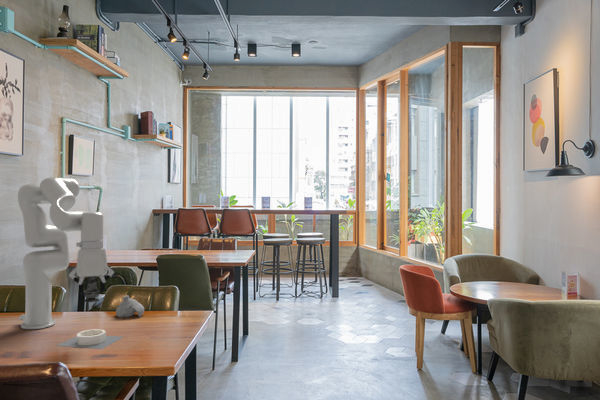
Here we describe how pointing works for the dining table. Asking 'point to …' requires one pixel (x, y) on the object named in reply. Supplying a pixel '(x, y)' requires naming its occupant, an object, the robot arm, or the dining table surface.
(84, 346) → the board
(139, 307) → the grey clay mound
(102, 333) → the white round dish
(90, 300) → the dark grey chess piece
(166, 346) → the dining table surface
